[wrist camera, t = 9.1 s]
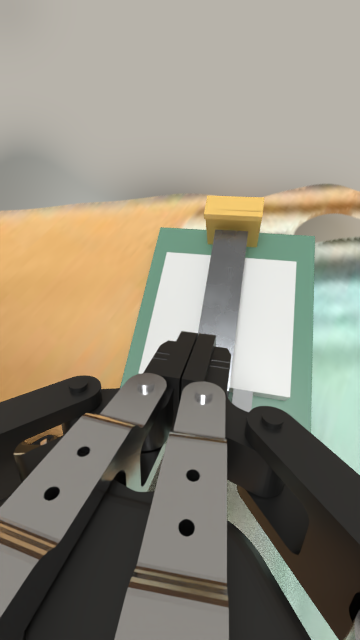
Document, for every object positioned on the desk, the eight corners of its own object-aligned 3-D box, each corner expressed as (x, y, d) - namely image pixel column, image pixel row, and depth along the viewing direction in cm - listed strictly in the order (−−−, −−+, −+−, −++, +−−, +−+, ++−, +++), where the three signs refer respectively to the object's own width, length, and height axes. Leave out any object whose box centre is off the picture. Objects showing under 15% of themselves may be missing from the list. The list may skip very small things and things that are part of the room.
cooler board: (305, 465, 23) (332, 473, 17) (115, 427, 26) (84, 423, 20) (311, 243, 30) (331, 198, 25) (162, 234, 33) (150, 192, 28)
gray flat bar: (226, 410, 22) (226, 408, 21) (188, 403, 23) (185, 401, 22) (247, 238, 28) (248, 229, 26) (215, 236, 28) (215, 227, 27)
